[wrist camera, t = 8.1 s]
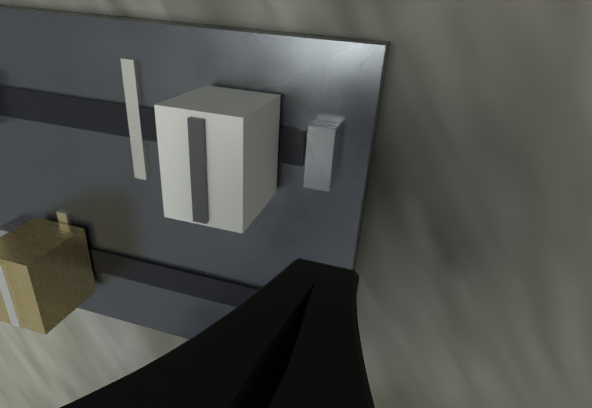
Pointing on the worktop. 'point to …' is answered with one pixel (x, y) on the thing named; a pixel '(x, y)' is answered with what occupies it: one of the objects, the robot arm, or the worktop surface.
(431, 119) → the worktop surface
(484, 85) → the worktop surface
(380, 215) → the worktop surface
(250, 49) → the mixer panel
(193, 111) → the block
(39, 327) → the tan striped block
